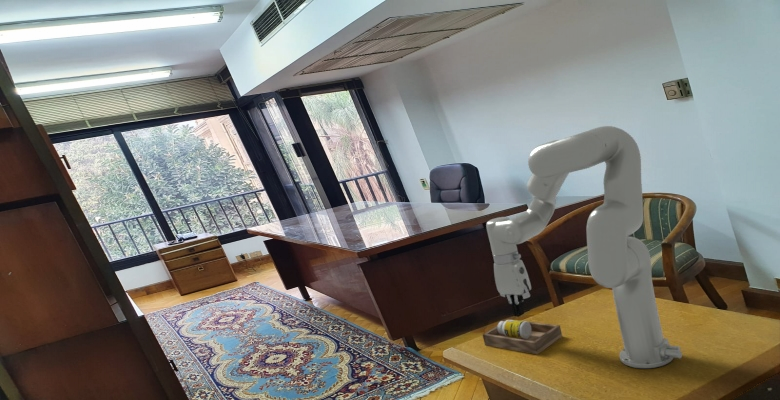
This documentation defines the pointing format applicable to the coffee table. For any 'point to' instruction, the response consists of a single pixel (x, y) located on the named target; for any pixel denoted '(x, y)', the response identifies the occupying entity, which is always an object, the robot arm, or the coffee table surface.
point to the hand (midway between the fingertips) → (519, 314)
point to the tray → (534, 344)
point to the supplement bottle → (515, 329)
